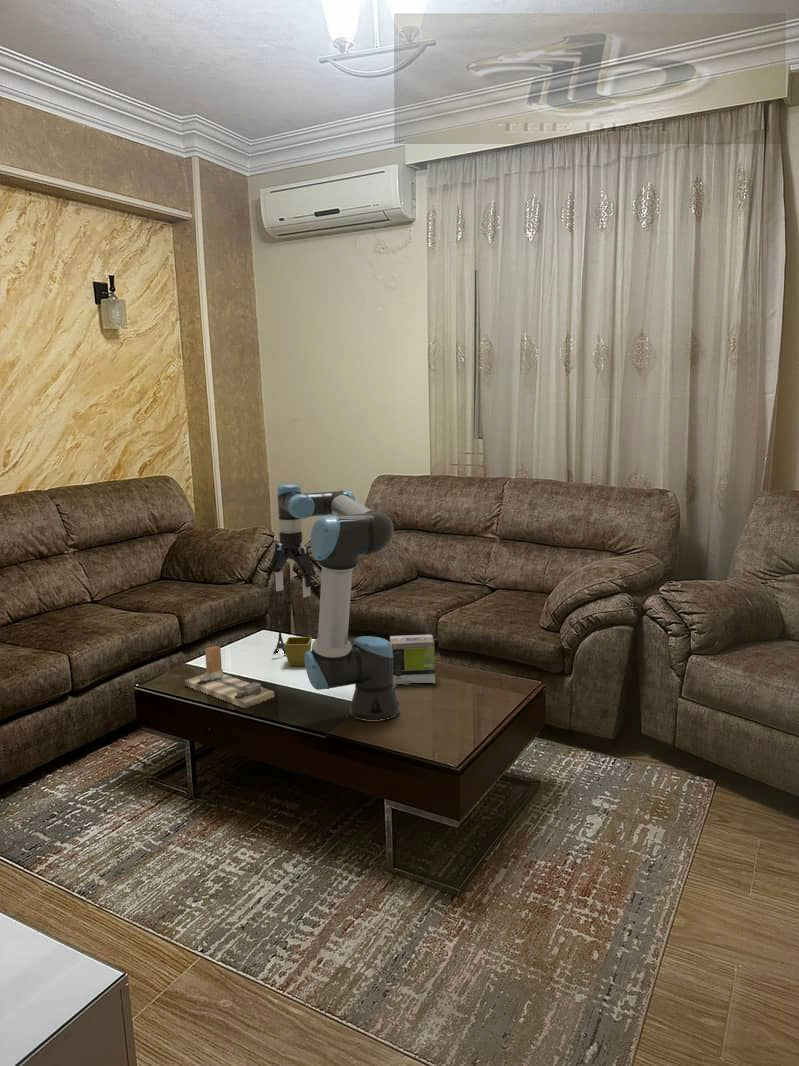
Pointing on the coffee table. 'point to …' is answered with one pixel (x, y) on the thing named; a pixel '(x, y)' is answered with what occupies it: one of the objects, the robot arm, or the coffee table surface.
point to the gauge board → (232, 690)
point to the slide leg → (212, 664)
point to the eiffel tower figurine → (279, 645)
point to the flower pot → (297, 650)
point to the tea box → (413, 659)
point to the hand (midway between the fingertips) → (293, 593)
